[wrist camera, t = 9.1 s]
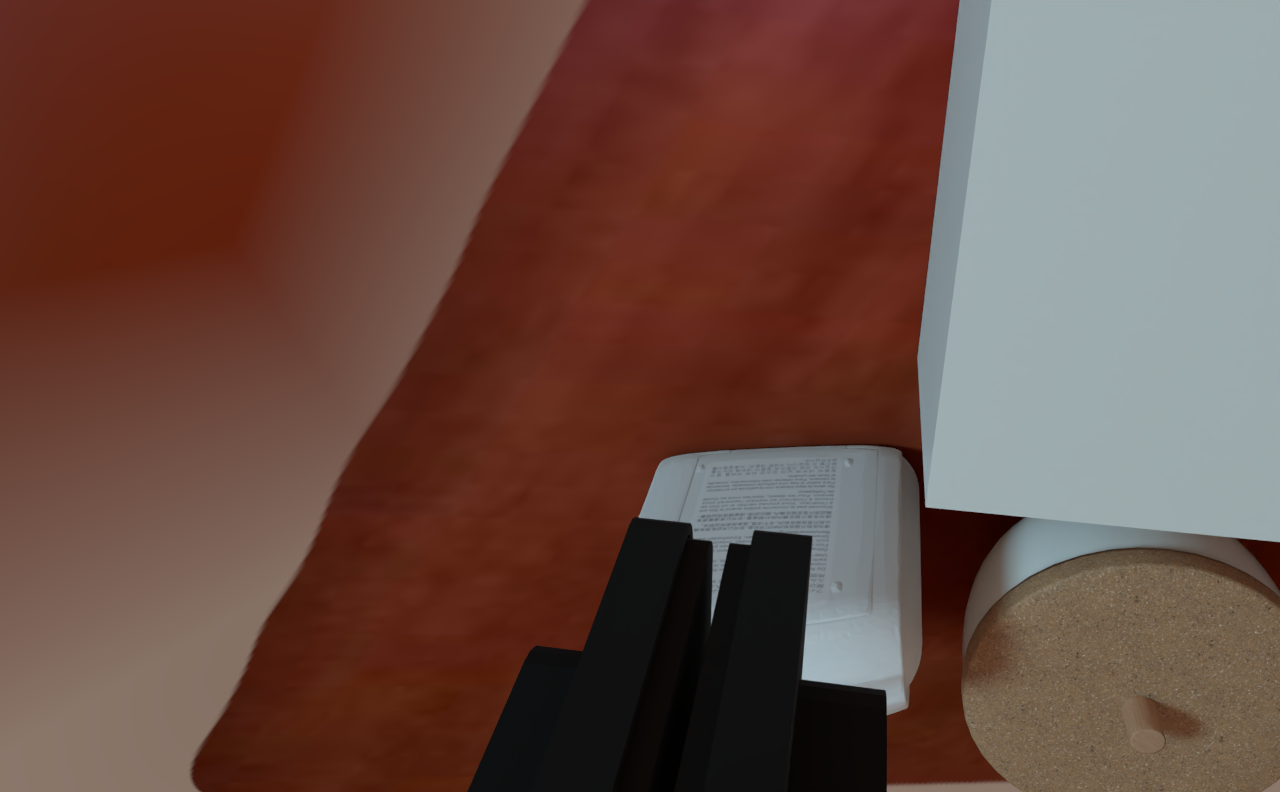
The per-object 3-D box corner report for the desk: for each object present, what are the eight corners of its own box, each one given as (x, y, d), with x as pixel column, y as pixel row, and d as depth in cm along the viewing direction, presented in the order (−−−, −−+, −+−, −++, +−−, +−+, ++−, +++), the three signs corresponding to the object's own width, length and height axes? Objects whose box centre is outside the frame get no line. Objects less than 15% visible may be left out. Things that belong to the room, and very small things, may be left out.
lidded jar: (1125, 717, 45) (1177, 915, 37) (896, 591, 45) (898, 763, 36) (1322, 533, 40) (1434, 716, 32) (1066, 388, 39) (1112, 536, 31)
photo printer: (662, 538, 46) (592, 760, 35) (645, 446, 44) (566, 650, 33) (922, 530, 43) (933, 766, 32) (915, 432, 41) (924, 647, 31)
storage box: (1350, -140, 31) (1531, -125, 22) (1217, 380, 38) (1315, 545, 29) (976, -139, 33) (1007, -125, 24) (917, 357, 40) (925, 507, 31)
